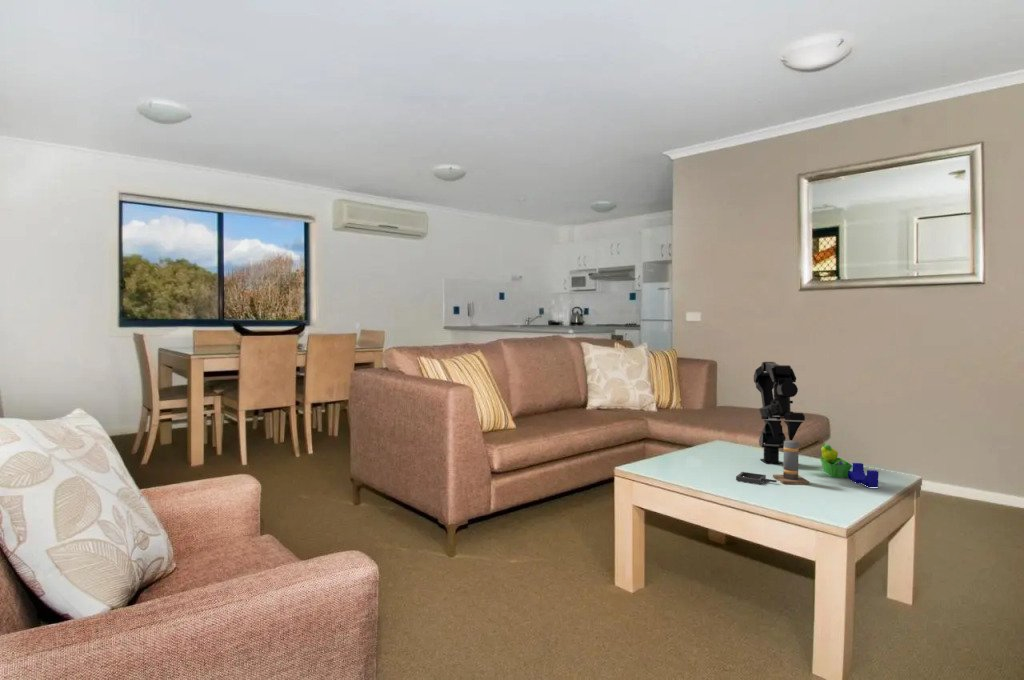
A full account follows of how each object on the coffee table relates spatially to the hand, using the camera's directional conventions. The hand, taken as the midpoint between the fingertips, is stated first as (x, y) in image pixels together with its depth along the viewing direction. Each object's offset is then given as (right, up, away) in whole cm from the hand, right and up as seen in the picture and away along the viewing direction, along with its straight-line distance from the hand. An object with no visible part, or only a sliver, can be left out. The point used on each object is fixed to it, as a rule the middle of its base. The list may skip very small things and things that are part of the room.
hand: (783, 439), depth 219 cm
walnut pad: (-3, -13, -11) cm, 17 cm away
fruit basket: (+18, -13, -2) cm, 22 cm away
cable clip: (+21, -13, -14) cm, 29 cm away
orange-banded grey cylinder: (-3, -12, -11) cm, 17 cm away
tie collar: (-15, -13, -12) cm, 23 cm away
